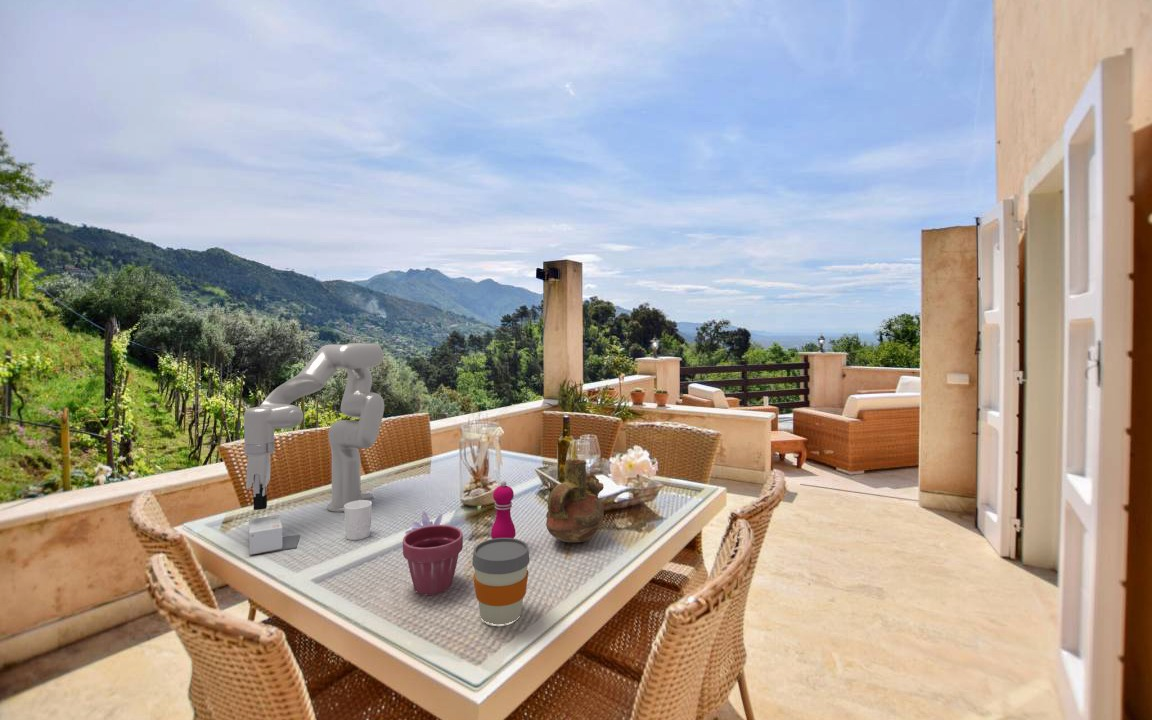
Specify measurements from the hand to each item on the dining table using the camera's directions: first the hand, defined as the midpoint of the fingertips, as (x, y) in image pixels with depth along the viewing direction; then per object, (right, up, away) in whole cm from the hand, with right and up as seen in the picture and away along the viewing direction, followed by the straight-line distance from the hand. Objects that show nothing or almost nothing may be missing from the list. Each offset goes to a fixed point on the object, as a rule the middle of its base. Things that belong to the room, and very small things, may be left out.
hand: (260, 508), depth 146 cm
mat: (+7, -10, -3) cm, 12 cm away
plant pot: (+60, -11, -26) cm, 67 cm away
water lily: (+52, -11, -7) cm, 53 cm away
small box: (0, -6, +2) cm, 6 cm away
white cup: (+28, -10, +4) cm, 30 cm away
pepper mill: (+74, -11, -4) cm, 75 cm away
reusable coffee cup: (+79, -12, -39) cm, 89 cm away
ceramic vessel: (+96, -11, +4) cm, 97 cm away
